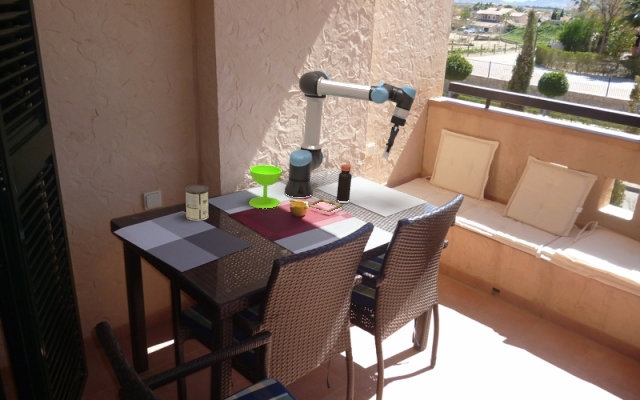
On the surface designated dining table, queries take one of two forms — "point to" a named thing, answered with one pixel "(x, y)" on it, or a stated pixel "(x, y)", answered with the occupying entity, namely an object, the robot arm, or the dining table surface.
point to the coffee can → (197, 202)
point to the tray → (325, 202)
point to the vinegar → (344, 183)
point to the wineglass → (265, 184)
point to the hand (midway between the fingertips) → (385, 156)
